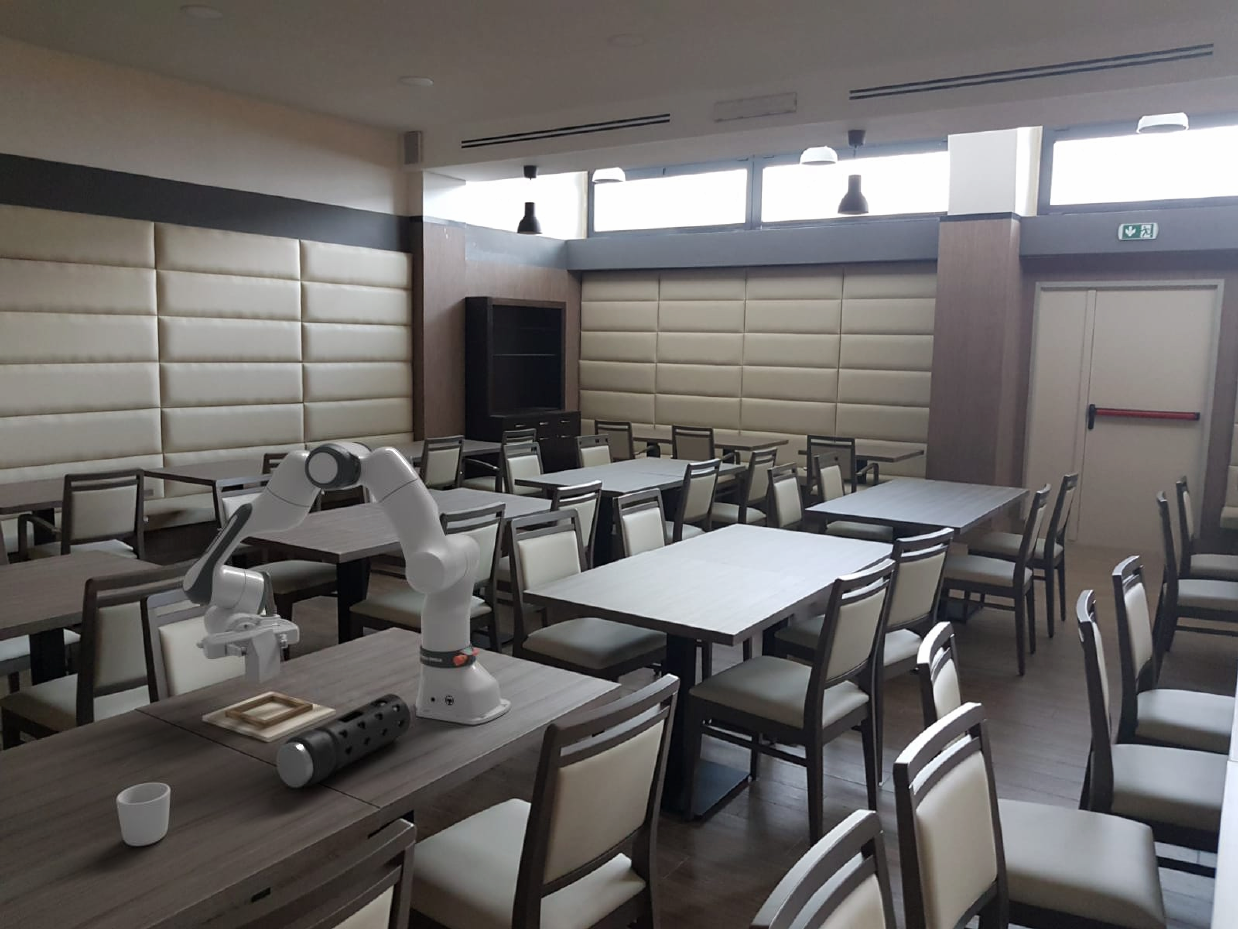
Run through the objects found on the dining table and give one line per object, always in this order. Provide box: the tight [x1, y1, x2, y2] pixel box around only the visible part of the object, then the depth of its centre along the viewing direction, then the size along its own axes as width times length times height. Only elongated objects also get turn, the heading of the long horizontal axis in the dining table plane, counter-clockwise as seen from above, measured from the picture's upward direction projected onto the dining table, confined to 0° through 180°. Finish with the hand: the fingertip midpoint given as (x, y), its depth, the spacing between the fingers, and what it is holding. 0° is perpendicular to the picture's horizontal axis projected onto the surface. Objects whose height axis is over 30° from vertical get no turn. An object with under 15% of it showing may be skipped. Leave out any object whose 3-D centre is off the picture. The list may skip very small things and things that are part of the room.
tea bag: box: [244, 629, 281, 685], centre depth 199 cm, size 4×7×10 cm, turn 162°
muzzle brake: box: [275, 693, 411, 789], centre depth 179 cm, size 10×28×10 cm, turn 153°
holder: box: [202, 691, 337, 743], centre depth 203 cm, size 22×18×2 cm
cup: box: [115, 782, 171, 847], centre depth 152 cm, size 11×8×8 cm
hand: (263, 648), depth 198 cm, fingers closed on tea bag, 8 cm apart
